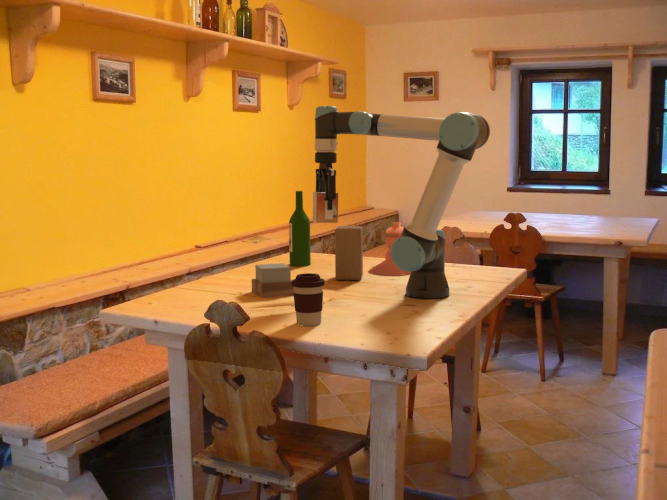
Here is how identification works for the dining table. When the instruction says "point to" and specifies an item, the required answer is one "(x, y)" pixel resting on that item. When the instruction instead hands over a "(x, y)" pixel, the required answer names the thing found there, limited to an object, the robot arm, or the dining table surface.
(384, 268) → the ceramic vessels
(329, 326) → the dining table surface
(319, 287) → the coffee cup
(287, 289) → the tower base
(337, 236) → the block
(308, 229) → the wine bottle
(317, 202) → the small box
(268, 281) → the tower top
